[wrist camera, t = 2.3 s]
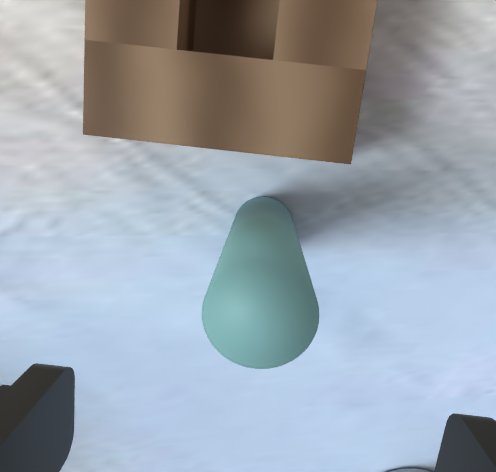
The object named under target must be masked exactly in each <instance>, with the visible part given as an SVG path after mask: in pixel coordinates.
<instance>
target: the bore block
mask: <svg viewBox="0 0 496 472" xmlns="http://www.w3.org/2000/svg"><path fill="white" fill-rule="evenodd" d="M376 6H377V0H86V2H85V57H84V112H83V134H84V135H93V136H102V137H111V138H120V139H129V140H138V141H147V142H156V143H165V144H174V145H183V146H192V147H201V148H210V149H219V150H228V151H237V152H245V153H254V154H263V155H272V156H281V157H290V158H299V159H308V160H317V161H326V162H335V163H344V164H351V160H352V154H353V148H354V142H355V136H356V129H357V123H358V117H359V111H360V105H361V99H362V92H363V86H364V80H365V74H366V68H367V61H368V55H369V49H370V43H371V37H372V30H373V24H374V18H375V12H376Z"/></svg>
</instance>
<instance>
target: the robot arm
mask: <svg viewBox="0 0 496 472" xmlns="http://www.w3.org/2000/svg"><path fill="white" fill-rule="evenodd" d="M74 390H75V376H74V371H73V369H72V368H70V367H62V366H54V365H45V364H33V365H32V366H31V367H30V368H29V369H28V370H27V371H26V372H25V373H24V374H23V375H21V376H20V377H19V378H18V379H17V380H16V381H15V382H14V383H13V384H12V385H11V386H9V385H1V386H0V472H59V471H60V470H61V468H62V466H63V465H64V463H65V461H66V459H67V457H68V454H69V451H70V448H71V445H72V440H73V435H74ZM390 472H431V471H428V470H422V469H415V468H411V469H398V470H394V471H390ZM434 472H496V421H495V420H493V419H492V418H489V417H480V416H471V415H463V414H452V415H450V416H449V418H448V420H447V423H446V426H445V430H444V435H443V439H442V443H441V447H440V451H439V455H438V459H437V463H436V467H435V471H434Z"/></svg>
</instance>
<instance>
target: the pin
mask: <svg viewBox="0 0 496 472" xmlns="http://www.w3.org/2000/svg"><path fill="white" fill-rule="evenodd" d="M202 320H203V326H204V329H205V332H206V334H207V337H208V338H209V340H210V342H211V343H212V345H213V346H214V347H215V349H216V350H217V351H218V352H219V353H220V354H222V355H223V356H224V357H225V358H227V359H229V360H230V361H232V362H234V363H236V364H238V365H241V366H245V367H249V368H256V369H267V368H274V367H278V366H281V365H284V364H286V363H288V362H290V361H292V360H294V359H295V358H297V357H298V356H299V355H301V354H302V353H303V352H304V351H305V350H306V349H307V347H308V346H309V345H310V343H311V342H312V340H313V338H314V336H315V334H316V331H317V328H318V323H319V307H318V302H317V298H316V295H315V292H314V289H313V285H312V282H311V279H310V275H309V272H308V269H307V266H306V262H305V259H304V256H303V252H302V249H301V246H300V243H299V239H298V236H297V233H296V229H295V226H294V223H293V220H292V216H291V214H290V212H289V210H288V209H287V207H286V206H285V205H284V204H283V203H281V202H280V201H278V200H276V199H274V198H271V197H256V198H253V199H251V200H249V201H247V202H246V203H244V204H243V205H242V206H241V208H240V209H239V210H238V212H237V214H236V217H235V219H234V222H233V224H232V227H231V230H230V232H229V235H228V238H227V240H226V243H225V245H224V248H223V251H222V253H221V256H220V258H219V261H218V264H217V266H216V269H215V271H214V274H213V277H212V279H211V282H210V285H209V287H208V290H207V292H206V295H205V298H204V301H203V307H202Z"/></svg>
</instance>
